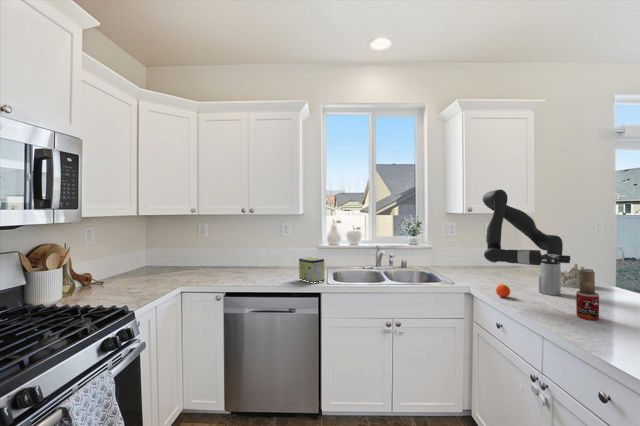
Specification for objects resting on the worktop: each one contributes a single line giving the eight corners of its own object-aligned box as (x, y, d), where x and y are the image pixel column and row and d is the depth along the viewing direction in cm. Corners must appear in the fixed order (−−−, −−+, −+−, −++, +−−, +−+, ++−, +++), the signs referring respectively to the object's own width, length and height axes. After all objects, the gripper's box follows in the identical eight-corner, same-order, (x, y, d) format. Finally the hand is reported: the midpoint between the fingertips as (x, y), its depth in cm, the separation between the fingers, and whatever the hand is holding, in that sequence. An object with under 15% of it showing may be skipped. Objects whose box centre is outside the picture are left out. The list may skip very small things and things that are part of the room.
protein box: (310, 278, 228) (309, 256, 228) (325, 281, 217) (324, 259, 217) (298, 280, 221) (298, 258, 221) (313, 284, 210) (313, 260, 210)
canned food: (575, 318, 139) (575, 293, 139) (577, 313, 145) (577, 289, 145) (598, 322, 134) (598, 296, 134) (599, 317, 140) (599, 292, 140)
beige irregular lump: (594, 286, 194) (591, 262, 194) (575, 290, 189) (572, 264, 189) (567, 283, 209) (565, 260, 209) (549, 286, 204) (547, 262, 204)
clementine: (515, 298, 171) (515, 285, 171) (505, 299, 169) (504, 286, 169) (502, 294, 178) (502, 282, 178) (492, 295, 176) (492, 283, 176)
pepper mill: (577, 292, 141) (576, 268, 141) (582, 290, 143) (582, 268, 143) (591, 294, 136) (591, 270, 136) (597, 293, 139) (596, 269, 139)
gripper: (526, 251, 154) (569, 253, 144) (530, 248, 165) (570, 249, 155) (527, 267, 154) (570, 270, 144) (531, 262, 165) (570, 264, 155)
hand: (570, 259), depth 149 cm, fingers open, 8 cm apart
